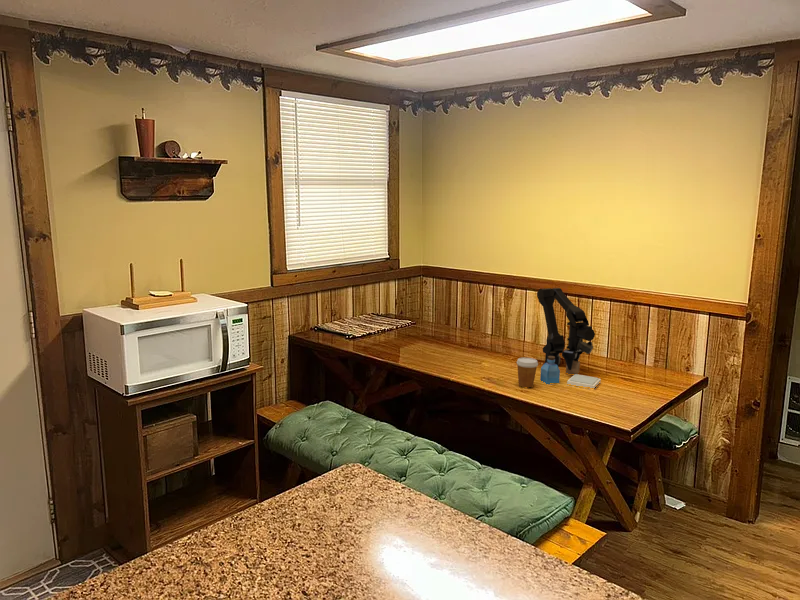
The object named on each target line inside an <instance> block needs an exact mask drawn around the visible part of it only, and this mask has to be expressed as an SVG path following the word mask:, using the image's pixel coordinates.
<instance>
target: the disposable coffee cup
mask: <svg viewBox="0 0 800 600" xmlns="http://www.w3.org/2000/svg"><path fill="white" fill-rule="evenodd" d="M516 365H517V377H518V387H520V386H522V387H532V388H533V387H534V385H535V384H534V382H535V379H536V372H537V368H538V365H539V363H538V360H537V359H535V358H531V357H519V358H517V361H516ZM522 387H521V388H522Z"/></svg>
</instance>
